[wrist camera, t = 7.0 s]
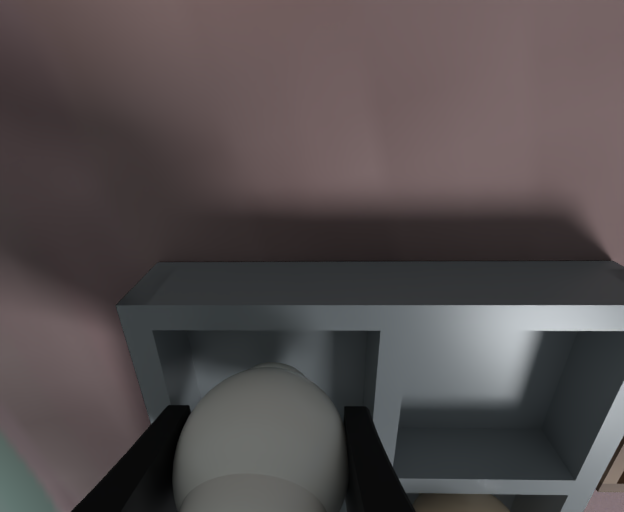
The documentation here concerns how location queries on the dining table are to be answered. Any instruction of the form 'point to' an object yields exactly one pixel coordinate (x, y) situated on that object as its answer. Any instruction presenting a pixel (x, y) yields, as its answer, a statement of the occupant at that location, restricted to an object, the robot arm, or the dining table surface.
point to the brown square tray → (614, 472)
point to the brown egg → (458, 503)
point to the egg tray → (413, 360)
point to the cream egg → (262, 447)
